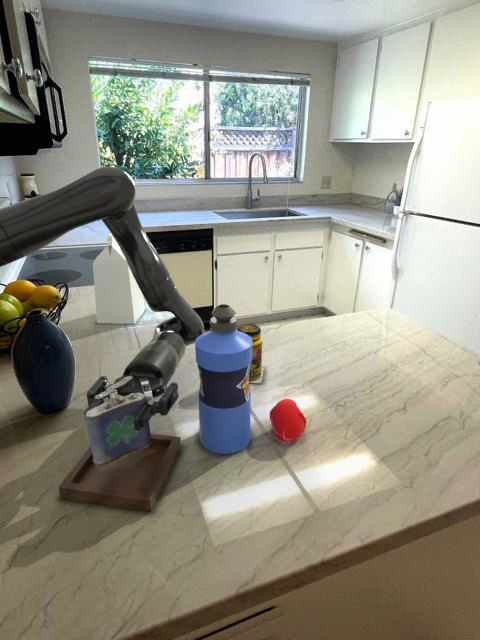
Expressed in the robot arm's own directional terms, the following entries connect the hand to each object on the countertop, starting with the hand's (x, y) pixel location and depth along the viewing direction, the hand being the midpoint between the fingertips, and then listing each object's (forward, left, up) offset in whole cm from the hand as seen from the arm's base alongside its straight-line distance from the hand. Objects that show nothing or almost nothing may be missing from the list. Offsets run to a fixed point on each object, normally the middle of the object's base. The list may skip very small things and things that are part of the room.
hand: (112, 422), depth 58 cm
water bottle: (+14, +13, -11) cm, 22 cm away
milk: (-30, +66, -11) cm, 73 cm away
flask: (0, +2, -7) cm, 7 cm away
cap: (+25, +16, -11) cm, 32 cm away
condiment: (+14, +36, -11) cm, 40 cm away
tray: (0, +2, -11) cm, 11 cm away
